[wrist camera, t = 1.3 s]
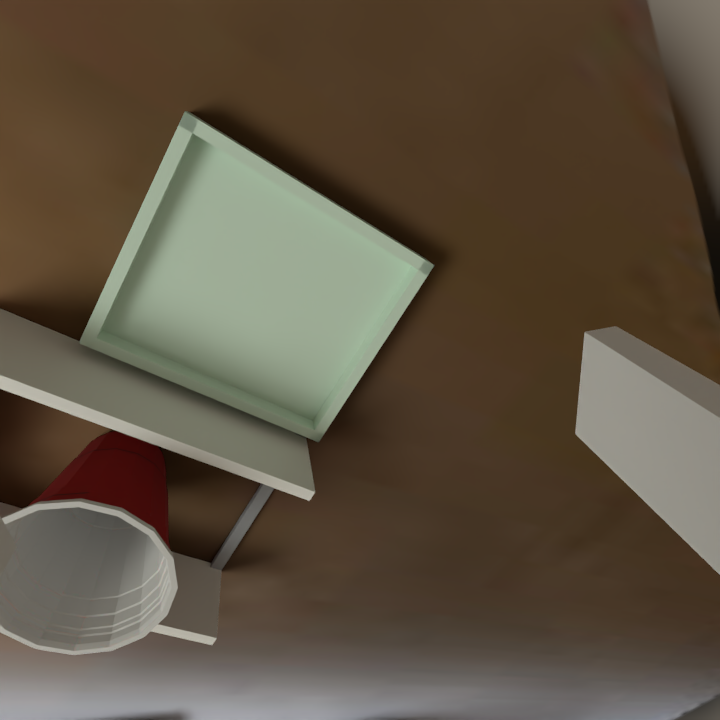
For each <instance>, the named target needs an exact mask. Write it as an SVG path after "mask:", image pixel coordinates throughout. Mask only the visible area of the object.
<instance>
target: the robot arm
mask: <svg viewBox="0 0 720 720" xmlns="http://www.w3.org/2000/svg"><path fill="white" fill-rule="evenodd" d="M575 434H576V435H577V436H578V437H579V438H580V439H581V440H582V441H583V442H584V443H585V444H586V445H587V446H588V447H589V448H590V449H591V450H592V451H593V452H594V453H595V454H597V455H598V456H599V457H600V458H601V459H602V460H603V461H604V462H605V463H606V464H607V465H608V466H609V467H610V468H611V469H612V470H613V471H614V472H615V473H616V474H617V475H618V476H619V477H620V478H621V479H622V480H623V481H624V482H625V483H626V484H627V485H628V486H629V487H630V488H631V489H632V490H633V491H634V492H635V493H637V494H638V495H639V496H640V497H641V498H642V499H643V500H644V501H645V502H646V503H647V504H648V505H649V506H650V507H651V508H652V509H653V510H654V511H655V512H656V513H657V514H658V515H659V516H660V517H661V518H662V519H663V520H664V521H665V522H666V523H667V524H668V525H669V526H670V527H671V528H672V529H673V530H674V531H675V532H677V533H678V534H679V535H680V536H681V537H682V538H683V539H684V540H685V541H686V542H687V543H688V544H689V545H690V546H691V547H692V548H693V549H694V550H695V551H696V552H697V553H698V554H699V555H700V556H701V557H702V558H703V559H704V560H705V561H706V562H707V563H708V564H709V565H710V566H711V567H712V568H713V569H714V570H715V571H717V572H718V573H719V574H720V385H718V384H717V383H715V382H713V381H711V380H710V379H708V378H706V377H704V376H703V375H701V374H699V373H697V372H695V371H694V370H692V369H690V368H688V367H687V366H685V365H683V364H681V363H680V362H678V361H676V360H674V359H673V358H671V357H669V356H667V355H666V354H664V353H662V352H660V351H658V350H657V349H655V348H653V347H651V346H650V345H648V344H646V343H644V342H643V341H641V340H639V339H637V338H636V337H634V336H632V335H630V334H629V333H627V332H625V331H623V330H621V329H620V328H618V327H616V326H615V327H609V328H604V329H598V330H593V331H587V332H585V334H584V345H583V356H582V367H581V377H580V388H579V399H578V410H577V420H576V431H575ZM16 548H17V546H16V544H15V543H14V541H13V539H12V537H11V535H10V533H9V531H8V529H7V527H6V526H5V524H4V522H3V520H2V518H1V516H0V576H1V574H2V573H3V571H4V569H5V567H6V565H7V564H8V562H9V560H10V558H11V556H12V555H13V553H14V551H15V549H16Z"/></svg>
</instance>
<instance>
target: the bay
mask: <svg viewBox="0 0 720 720" xmlns="http://www.w3.org/2000/svg"><path fill="white" fill-rule="evenodd" d="M0 389H2V390H5V391H8V392H11V393H13V394H16V395H19V396H22V397H24V398H27V399H30V400H33V401H35V402H38V403H41V404H44V405H47V406H49V407H52V408H55V409H58V410H60V411H63V412H66V413H69V414H71V415H74V416H77V417H80V418H82V419H85V420H88V421H91V422H93V423H96V424H99V425H102V426H104V427H107V428H110V429H113V430H115V431H118V432H121V433H124V434H126V435H129V436H132V437H135V438H137V439H140V440H143V441H146V442H149V443H151V444H154V445H157V446H160V447H162V448H165V449H168V450H171V451H173V452H176V453H179V454H182V455H184V456H187V457H190V458H193V459H195V460H198V461H201V462H204V463H206V464H209V465H212V466H215V467H217V468H220V469H223V470H226V471H228V472H231V473H234V474H237V475H239V476H242V477H245V478H248V479H251V480H253V481H256V482H259V483H261V485H260V486H259V488H258V489H257V491H256V493H255V494H254V496H253V497H252V499H251V501H250V502H249V504H248V505H247V507H246V508H245V510H244V512H243V513H242V515H241V516H240V518H239V519H238V521H237V523H236V524H235V526H234V527H233V529H232V531H231V532H230V534H229V535H228V537H227V538H226V540H225V542H224V543H223V545H222V546H221V548H220V550H219V551H218V553H217V554H216V556H215V557H214V559H213V561H212V562H211V563H209V562H206V561H203V560H199V559H196V558H192V557H189V556H185V555H182V554H178V553H175V552H172V553H173V557H174V564H175V571H176V577H177V585H178V589H177V592H176V594H175V597H174V600H173V602H172V605H171V607H170V610H169V612H168V615H167V616H166V617H165V618H164V619H163V620H162V621H161V622H160V623H159V624H158V625H157V626H155V627H154V628H153V629H152V630H151V631H152V632H156V633H161V634H165V635H170V636H174V637H178V638H183V639H187V640H192V641H196V642H201V643H205V644H209V645H212V644H213V643H214V641H215V640H216V639H217V628H218V613H219V599H220V585H221V570H222V569H223V567H224V566H225V564H226V563H227V561H228V560H229V558H230V557H231V555H232V553H233V552H234V550H235V549H236V547H237V546H238V544H239V543H240V541H241V539H242V538H243V536H244V535H245V533H246V532H247V530H248V529H249V527H250V525H251V524H252V522H253V521H254V519H255V518H256V516H257V515H258V513H259V511H260V510H261V508H262V507H263V505H264V504H265V502H266V501H267V499H268V498H269V496H270V494H271V493H272V491H273V490H274V488H275V489H278V490H281V491H284V492H286V493H289V494H292V495H295V496H297V497H300V498H303V499H306V500H308V501H310V499H311V498H312V496H313V495H314V493H315V487H314V481H313V475H312V470H311V464H310V458H309V452H308V446H307V440H306V437H304V436H302V435H299V434H297V433H295V432H292V431H290V430H287V429H285V428H283V427H280V426H278V425H275V424H273V423H270V422H268V421H266V420H263V419H261V418H258V417H256V416H254V415H251V414H249V413H246V412H244V411H241V410H239V409H237V408H234V407H232V406H229V405H227V404H225V403H222V402H220V401H217V400H215V399H212V398H210V397H208V396H205V395H203V394H200V393H198V392H195V391H193V390H191V389H188V388H186V387H183V386H181V385H179V384H176V383H174V382H171V381H169V380H166V379H164V378H162V377H159V376H157V375H154V374H152V373H150V372H147V371H145V370H142V369H140V368H137V367H135V366H133V365H130V364H128V363H125V362H123V361H121V360H118V359H116V358H113V357H111V356H108V355H106V354H104V353H101V352H99V351H96V350H94V349H92V348H89V347H87V346H84V345H82V344H79V341H78V340H75V339H73V338H70V337H68V336H66V335H63V334H61V333H58V332H56V331H53V330H51V329H49V328H46V327H44V326H41V325H39V324H37V323H34V322H32V321H29V320H27V319H25V318H22V317H20V316H17V315H15V314H13V313H10V312H8V311H5V310H3V309H0ZM21 509H22V508H19V507H16V506H12V505H9V504H5V503H2V502H0V516H1V518H2V517H4V516H7V515H9V514H11V513H14V512H16V511H18V510H21Z"/></svg>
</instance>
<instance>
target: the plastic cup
mask: <svg viewBox="0 0 720 720" xmlns="http://www.w3.org/2000/svg"><path fill="white" fill-rule="evenodd" d="M2 520H3V522H4V524H5V526H6V527H7V529H8V531H9V533H10V535H11V537H12V539H13V541H14V543H15V544H16V546H17V548H16V549H15V551H14V553H13V555H12V556H11V558H10V560H9V562H8V564H7V565H6V567H5V569H4V571H3V573H2V574H1V576H0V632H1V633H3V634H5V635H7V636H9V637H11V638H13V639H15V640H17V641H20V642H22V643H24V644H26V645H28V646H30V647H32V648H34V649H39V650H45V651H51V652H58V653H64V654H70V655H79V654H88V653H97V652H106V651H112V650H115V649H117V648H120V647H122V646H124V645H127V644H129V643H131V642H134V641H136V640H138V639H141V638H143V637H145V636H146V635H147V634H148V633H149V632H150V631H151V630H152V629H153V628H154V627H155V626H157V625H158V624H159V623H160V622H161V621H162V620H163V619H164V618H165V617H166V616H167V615H168V612H169V610H170V607H171V605H172V602H173V600H174V597H175V594H176V592H177V589H178V585H177V577H176V571H175V564H174V557H173V553H172V552H171V550H170V545H169V530H168V491H167V485H166V467H165V461H164V457H163V453H162V452H161V450H160V449H159V447H158V446H157V445H154V444H151V443H149V442H146V441H143V440H140V439H137V438H135V437H132V436H129V435H126V434H124V433H121V432H118V431H113V432H109V433H106V434H104V435H102V436H99V437H97V438H96V439H95V440H93V441H91V442H90V443H89V445H88V446H87V447H86V448H85V449H84V450H83V451H82V452H81V453H80V454H79V455H78V457H77V458H75V459H74V460H73V461H72V462H71V463H70V464H69V465H68V466H67V467H66V468H65V469H64V470H63V472H62V473H61V474H60V475H59V476H58V477H57V478H56V479H55V480H54V481H53V482H52V483H51V484H50V485H49V487H48V488H47V489H46V490H45V491H44V492H43V493H42V494H41V495H40V496H39V497H38V498H37V499H35V500H33V501H32V502H31V503H30V504H29V505H28V506H27V507H24V508H23V509H21V510H18V511H16V512H14V513H11V514H9V515H7V516H4V517H2Z"/></svg>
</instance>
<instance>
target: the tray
mask: <svg viewBox="0 0 720 720" xmlns="http://www.w3.org/2000/svg"><path fill="white" fill-rule="evenodd" d="M433 267H434V265H433V264H432V263H431V262H429V261H428V260H427V259H426V258H424V257H423V256H421V255H419V254H418V253H416V252H414V251H413V250H411V249H410V248H408V247H406V246H405V245H403V244H402V243H400V242H398V241H397V240H395V239H393V238H392V237H390V236H389V235H387V234H385V233H384V232H382V231H381V230H379V229H377V228H376V227H374V226H372V225H371V224H369V223H368V222H366V221H364V220H363V219H361V218H360V217H358V216H356V215H355V214H353V213H352V212H350V211H348V210H347V209H345V208H343V207H342V206H340V205H339V204H337V203H335V202H334V201H332V200H331V199H329V198H327V197H326V196H324V195H322V194H321V193H319V192H318V191H316V190H314V189H313V188H311V187H310V186H308V185H306V184H305V183H303V182H302V181H300V180H298V179H297V178H295V177H293V176H292V175H290V174H289V173H287V172H285V171H284V170H282V169H281V168H279V167H277V166H276V165H274V164H272V163H271V162H269V161H268V160H266V159H264V158H263V157H261V156H260V155H258V154H256V153H255V152H253V151H251V150H250V149H248V148H247V147H245V146H243V145H242V144H240V143H239V142H237V141H235V140H234V139H232V138H231V137H229V136H227V135H226V134H224V133H222V132H221V131H219V130H218V129H216V128H214V127H213V126H211V125H210V124H208V123H206V122H205V121H203V120H201V119H200V118H198V117H197V116H195V115H193V114H192V113H190V112H187V111H185V112H184V115H183V117H182V119H181V121H180V123H179V125H178V128H177V130H176V132H175V134H174V136H173V139H172V141H171V143H170V145H169V147H168V149H167V152H166V154H165V156H164V158H163V160H162V162H161V165H160V167H159V169H158V171H157V173H156V176H155V178H154V180H153V182H152V184H151V186H150V189H149V191H148V193H147V195H146V197H145V200H144V202H143V204H142V206H141V208H140V210H139V213H138V215H137V217H136V219H135V221H134V223H133V226H132V228H131V230H130V232H129V234H128V237H127V239H126V241H125V243H124V245H123V247H122V250H121V252H120V254H119V256H118V258H117V261H116V263H115V265H114V267H113V269H112V271H111V274H110V276H109V278H108V280H107V282H106V285H105V287H104V289H103V291H102V293H101V295H100V298H99V300H98V302H97V304H96V306H95V308H94V311H93V313H92V315H91V317H90V319H89V322H88V324H87V326H86V328H85V330H84V332H83V335H82V337H81V339H80V341H79V344H82V345H84V346H87V347H89V348H92V349H94V350H96V351H99V352H101V353H104V354H106V355H108V356H111V357H113V358H116V359H118V360H121V361H123V362H125V363H128V364H130V365H133V366H135V367H137V368H140V369H142V370H145V371H147V372H150V373H152V374H154V375H157V376H159V377H162V378H164V379H166V380H169V381H171V382H174V383H176V384H179V385H181V386H183V387H186V388H188V389H191V390H193V391H195V392H198V393H200V394H203V395H205V396H208V397H210V398H212V399H215V400H217V401H220V402H222V403H225V404H227V405H229V406H232V407H234V408H237V409H239V410H241V411H244V412H246V413H249V414H251V415H254V416H256V417H258V418H261V419H263V420H266V421H268V422H270V423H273V424H275V425H278V426H280V427H283V428H285V429H287V430H290V431H292V432H295V433H297V434H299V435H302V436H304V437H307V438H309V439H312V440H314V441H316V442H319V441H320V440H321V438H322V437H323V435H324V434H325V432H326V430H327V429H328V427H329V426H330V424H331V423H332V421H333V420H334V418H335V417H336V415H337V414H338V412H339V411H340V409H341V408H342V406H343V404H344V403H345V401H346V400H347V398H348V397H349V395H350V394H351V392H352V391H353V389H354V388H355V386H356V385H357V383H358V382H359V380H360V378H361V377H362V375H363V374H364V372H365V371H366V369H367V368H368V366H369V365H370V363H371V362H372V360H373V359H374V357H375V356H376V354H377V352H378V351H379V349H380V348H381V346H382V345H383V343H384V342H385V340H386V339H387V337H388V336H389V334H390V333H391V331H392V330H393V328H394V327H395V325H396V323H397V322H398V320H399V319H400V317H401V316H402V314H403V313H404V311H405V310H406V308H407V307H408V305H409V304H410V302H411V301H412V299H413V297H414V296H415V294H416V293H417V291H418V290H419V288H420V287H421V285H422V284H423V282H424V281H425V279H426V278H427V276H428V275H429V273H430V271H431V270H432V268H433Z"/></svg>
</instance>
